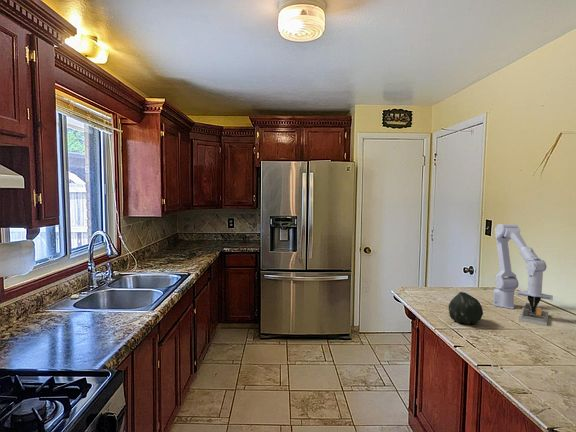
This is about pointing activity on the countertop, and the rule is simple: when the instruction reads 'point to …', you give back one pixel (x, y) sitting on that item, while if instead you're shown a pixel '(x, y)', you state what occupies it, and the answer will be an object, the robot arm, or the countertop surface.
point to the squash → (465, 309)
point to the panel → (534, 317)
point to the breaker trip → (539, 311)
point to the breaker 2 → (526, 312)
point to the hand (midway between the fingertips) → (533, 311)
